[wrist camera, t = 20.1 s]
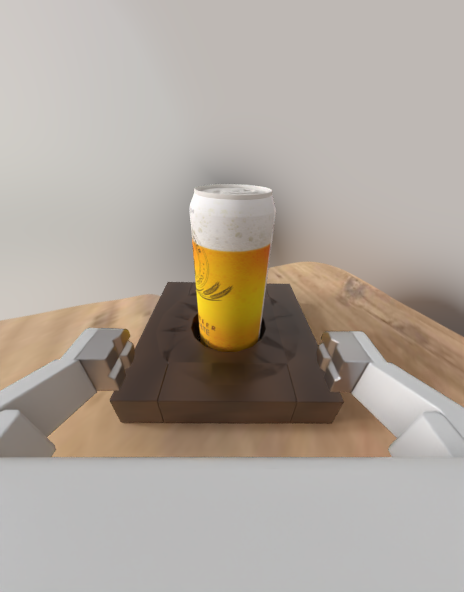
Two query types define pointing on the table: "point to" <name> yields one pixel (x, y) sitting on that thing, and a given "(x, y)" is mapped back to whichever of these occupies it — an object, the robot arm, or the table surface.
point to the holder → (225, 368)
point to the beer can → (231, 261)
